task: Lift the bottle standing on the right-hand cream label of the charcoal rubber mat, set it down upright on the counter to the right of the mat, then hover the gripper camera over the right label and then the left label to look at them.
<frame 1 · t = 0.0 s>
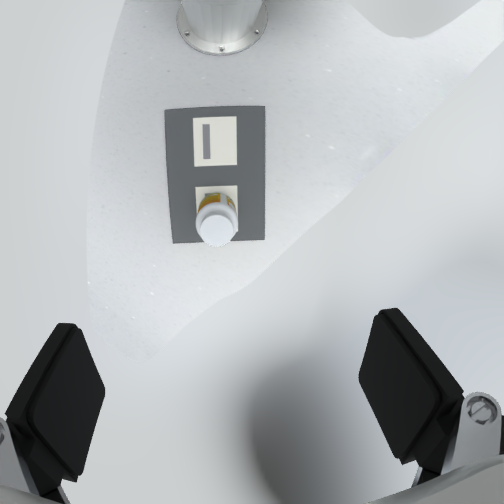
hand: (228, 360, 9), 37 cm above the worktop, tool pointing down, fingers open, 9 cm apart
label mat: (215, 175, 43), on the worktop
supplement bottle: (217, 209, 44), resting on label mat
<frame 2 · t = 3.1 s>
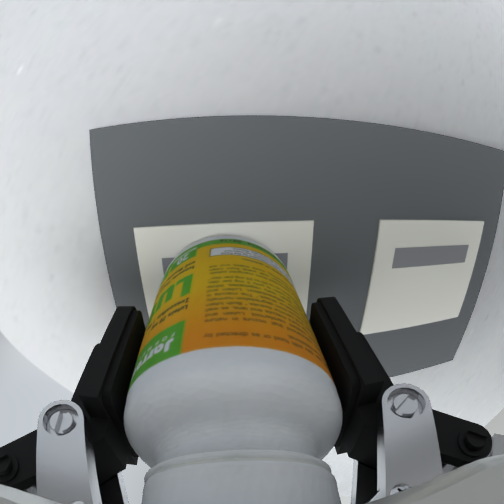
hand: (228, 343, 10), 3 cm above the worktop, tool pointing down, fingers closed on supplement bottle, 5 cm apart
label mat: (339, 283, 13), on the worktop
supplement bottle: (226, 291, 13), resting on label mat, touching gripper
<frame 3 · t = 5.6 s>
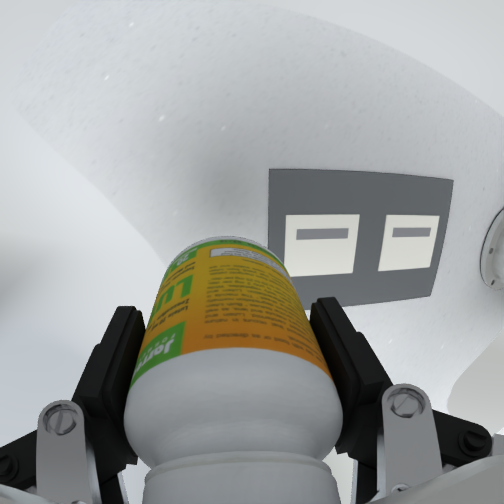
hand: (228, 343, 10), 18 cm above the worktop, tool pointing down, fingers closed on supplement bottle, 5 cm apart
label mat: (368, 243, 28), on the worktop
supplement bottle: (226, 291, 13), point 14 cm above the worktop, touching gripper
when the fingers open (5 cm above the worktop, at t = 8.4 s): supplement bottle drops 2 cm, on the worktop.
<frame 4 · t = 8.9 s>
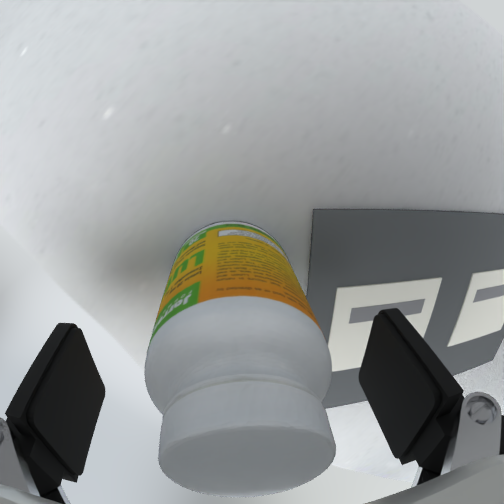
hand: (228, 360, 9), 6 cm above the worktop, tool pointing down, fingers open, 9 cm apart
label mat: (443, 314, 17), on the worktop
supplement bottle: (230, 272, 14), on the worktop
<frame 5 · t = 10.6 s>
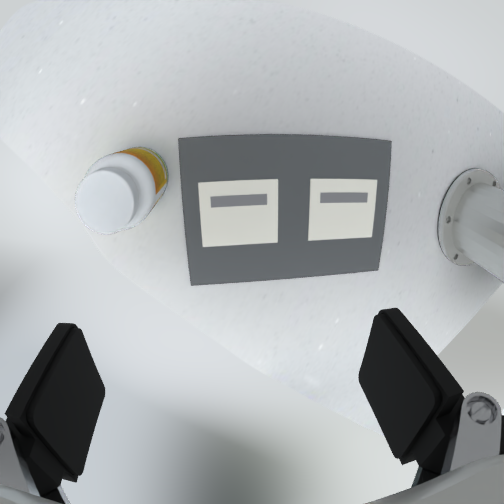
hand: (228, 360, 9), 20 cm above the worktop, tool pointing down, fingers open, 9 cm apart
label mat: (293, 210, 28), on the worktop
supplement bottle: (139, 176, 25), on the worktop
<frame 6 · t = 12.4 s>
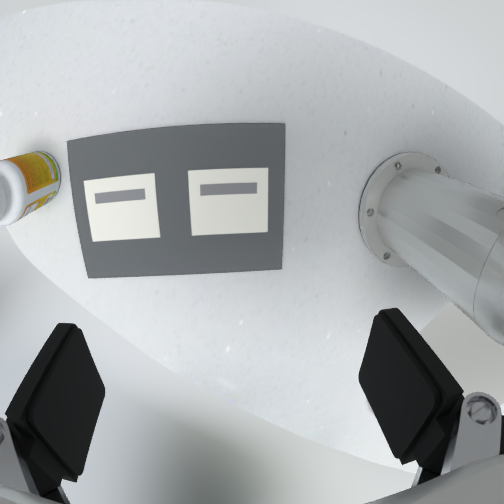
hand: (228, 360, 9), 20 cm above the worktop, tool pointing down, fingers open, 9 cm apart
label mat: (173, 204, 27), on the worktop
supplement bottle: (41, 177, 24), on the worktop
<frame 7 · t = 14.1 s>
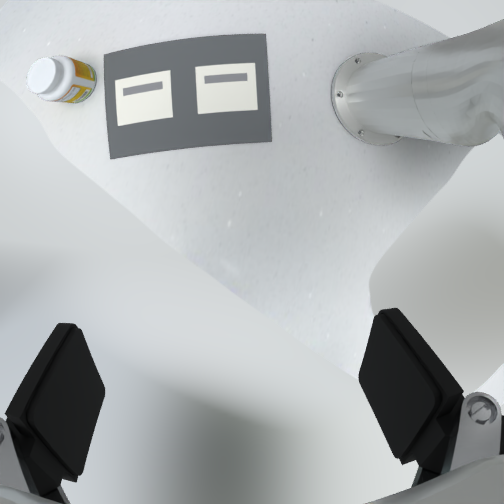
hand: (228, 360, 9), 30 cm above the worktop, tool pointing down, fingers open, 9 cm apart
label mat: (184, 91, 32), on the worktop
supplement bottle: (79, 83, 29), on the worktop
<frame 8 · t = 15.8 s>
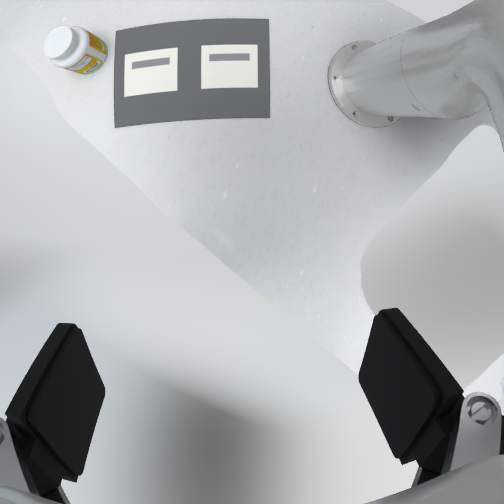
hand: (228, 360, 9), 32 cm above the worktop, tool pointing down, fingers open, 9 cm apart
label mat: (189, 67, 32), on the worktop
supplement bottle: (90, 56, 30), on the worktop
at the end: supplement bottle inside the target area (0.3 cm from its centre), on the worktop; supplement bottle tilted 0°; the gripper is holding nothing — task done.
